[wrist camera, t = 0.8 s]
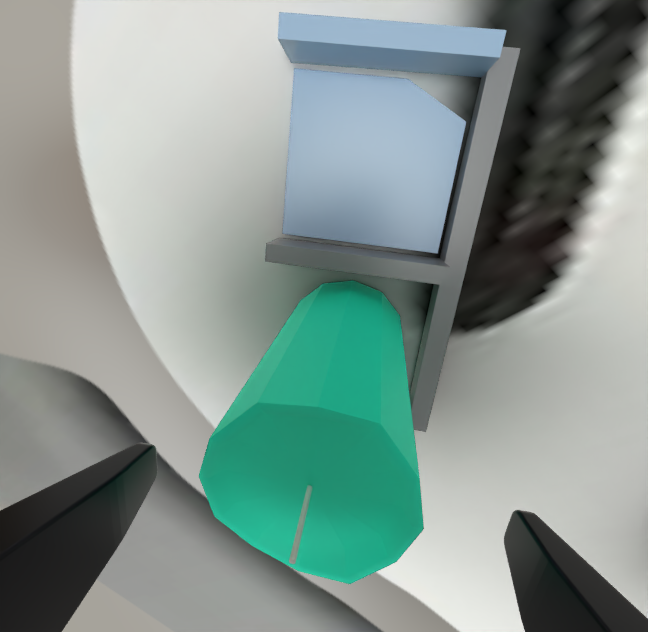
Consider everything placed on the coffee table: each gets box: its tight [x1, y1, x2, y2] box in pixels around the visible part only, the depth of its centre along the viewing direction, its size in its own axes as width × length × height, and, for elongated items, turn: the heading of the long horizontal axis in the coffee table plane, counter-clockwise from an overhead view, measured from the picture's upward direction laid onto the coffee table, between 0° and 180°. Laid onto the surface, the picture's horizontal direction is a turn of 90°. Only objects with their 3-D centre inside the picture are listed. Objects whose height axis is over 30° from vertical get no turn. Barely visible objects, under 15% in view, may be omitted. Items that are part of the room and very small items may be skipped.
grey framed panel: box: [265, 12, 520, 432], centre depth 16 cm, size 9×17×2 cm, turn 174°
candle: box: [199, 280, 424, 584], centre depth 13 cm, size 6×6×12 cm
